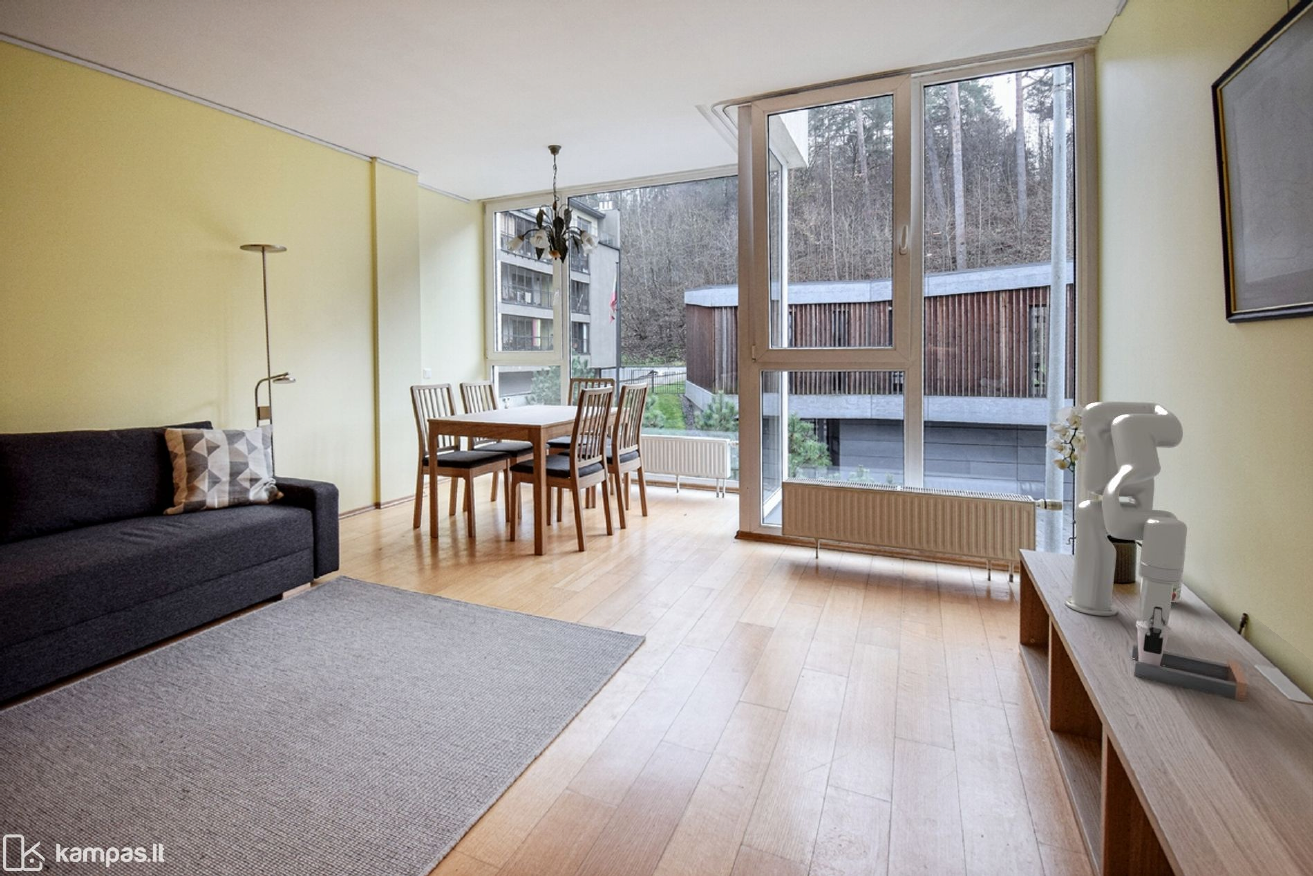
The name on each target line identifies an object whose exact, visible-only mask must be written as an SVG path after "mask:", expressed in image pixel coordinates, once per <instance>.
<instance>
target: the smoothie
mask: <svg viewBox="0 0 1313 876" xmlns="http://www.w3.org/2000/svg"><path fill="white" fill-rule="evenodd" d="M1153 613H1154V612H1153ZM1150 622H1154V620H1153V619H1151V620H1150ZM1147 624H1148V623H1147V621H1144V622H1142V621H1141V620H1140V619H1139V620H1136V623H1135V627H1136V628H1137V645H1138V654H1139V660H1138V661H1139V662H1144V663H1148V664H1153V665H1157V666H1161V665H1160V662H1161V659H1162V655H1163V652H1164V651H1165V647H1166V645H1167V641H1168V638H1169V635H1171V634H1172V628H1171V627H1170V626H1169V625H1166V626H1163V644H1162V652H1161V654H1155V653H1150V652H1146V651H1144V650H1143V647H1144V639H1145V634H1147ZM1151 627H1153V625H1151Z"/></svg>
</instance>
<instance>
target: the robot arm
mask: <svg viewBox="0 0 1313 876" xmlns="http://www.w3.org/2000/svg"><path fill="white" fill-rule="evenodd" d="M1080 421H1081V422H1080V424H1081V430H1082V433H1083V436H1084V441H1085V463H1084V474H1083V484H1084V485H1083V486H1084V489H1085V490H1086V492H1088V494H1091V495H1096V496H1101V499H1088V500H1083V501H1081V502H1078V504H1077V505H1076V507H1075V510H1074V521H1075V529H1076V530H1075V531H1076V536H1075V537H1076V538H1075V539H1076V540H1075V553H1074V560H1073V561H1074V563H1073V574H1072V583H1071V595H1070V596H1069V595H1068V596H1066V597H1065V598H1064V600H1063V601H1064V602H1063V603H1064V605H1066V606H1067V607H1068V608H1070V609H1072V610H1073V611H1077V612H1080V613H1083V614H1087V615H1093V616H1100V617H1101V616H1102V617H1109V616H1114V615H1116V614H1117V613H1118V607H1117V606H1116V605H1115V604H1113V603H1112V599H1113V588H1114V580H1115V569H1116V560H1117V550H1116V548H1115V545H1114V544H1113V543H1112V541H1110V540H1109V538H1108V536H1111V537H1112V538H1116V539H1119V540H1126V541H1127V540H1128V541H1141V549H1140V550H1141V551H1140V557H1139V558H1140V559H1139V565H1138V566H1139V568H1138V576H1139V577H1141V578H1143V582H1142V588H1141V587H1140V588H1141V594H1140V597H1139V603H1138V615H1139V620H1141V621H1142V622H1144V621H1147V623H1148V624H1147V634H1145V639H1144V647H1143V650H1144V651H1146V652H1150V653H1155V654H1161V652H1162V644H1163V626H1166V625H1167V626H1169V625H1168V624H1169V619H1170V614H1171V613H1170V612H1171V607H1172V603H1171V602H1172V594H1173V585H1174V584H1178V583H1180V582H1181V575H1182V567H1183V559H1184V551H1185V543H1186V544H1187V534H1188V527H1187V525H1186V523H1185V522H1184V521H1182V520H1180V519H1178V517H1177V516H1176V515H1175V514H1174V513H1173V512H1170V511H1167V510H1162V509H1161V510H1160V509H1159V510H1158V509H1153V508H1154V507H1153V506H1154V499H1155V498H1154V497H1155V496H1154V494H1155V477H1156V476H1157V475H1159V474H1160V472H1161V470H1162V468H1161V467H1162V466H1161V462H1160V458H1159V454H1158V449H1157V448H1160V449H1161V448H1163V449H1165V448H1166V449H1170V448H1171V449H1173V448H1176V447H1178V446H1179V445H1180V444H1181V442H1182V439H1183V435H1184V432H1183V426H1182V424H1181V421H1180V420H1179V418H1178V417H1177V416H1176V415H1175V414H1174V413H1173V412H1171V411H1170V410H1168V409H1167V408H1166V407H1164V406H1163V405H1162V404H1161V405H1160V404H1158V403H1155V402H1143V401H1142V402H1141V401H1140V402H1138V401H1096V402H1092V403H1089V404H1087V405H1086V406H1085V407H1084V409H1083V410H1082V413H1081V418H1080ZM1120 498H1128V501H1122V500H1120ZM1153 612H1154V613H1153ZM1151 619H1153V620H1154V622H1150V620H1151ZM1151 625H1153V627H1151Z"/></svg>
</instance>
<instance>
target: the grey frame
mask: <svg viewBox="0 0 1313 876" xmlns="http://www.w3.org/2000/svg"><path fill="white" fill-rule="evenodd" d="M1132 658H1135V659H1134V660H1135V662H1134V669H1133V676H1134V677H1137V676H1139V677H1138V678H1141V677H1144V678H1143V679H1145V678H1148V679H1147V680H1150V679H1151V681H1154V680H1156V681H1155V682H1158V681H1159V682H1158V683H1163V684H1168V685H1172V686H1175V687H1181V688H1184V689H1189V690H1193V691H1197V692H1201V693H1206V694H1211V695H1215V696H1218V697H1224V698H1227V699H1232V700H1236V701H1240V702H1244V703H1245V702H1246V698H1247V697H1246V696H1247V691H1248V690H1247V689H1248V682H1247V680H1246V678H1245V675H1244V674H1243V671H1242V670H1241V669H1242V668H1241V667H1240V664H1239V663H1238V661H1233V660H1229V659H1227V663H1223V662H1218V661H1213V660H1209V659H1204V658H1200V657H1195V656H1189V655H1185V654H1180V653H1175V652H1171V651H1165V650H1164V652H1163V655H1162V659H1161V662H1160V665H1159V666H1157V665H1153V664H1148V663H1144V662H1139V660H1138V659H1139V654H1138V644H1132V652H1131V659H1132ZM1136 659H1137V660H1136ZM1163 665H1165V666H1163ZM1172 667H1173V668H1172ZM1221 678H1222V679H1221Z"/></svg>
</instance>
